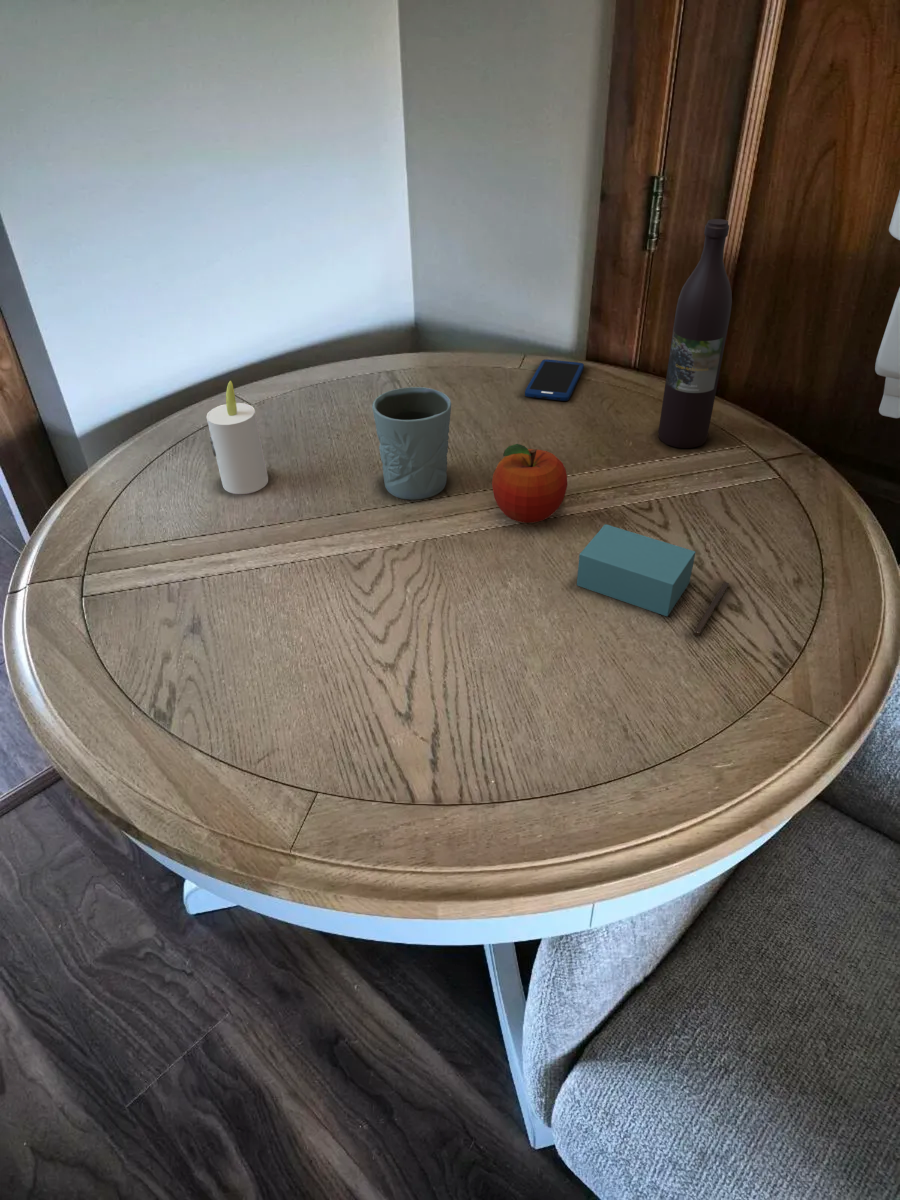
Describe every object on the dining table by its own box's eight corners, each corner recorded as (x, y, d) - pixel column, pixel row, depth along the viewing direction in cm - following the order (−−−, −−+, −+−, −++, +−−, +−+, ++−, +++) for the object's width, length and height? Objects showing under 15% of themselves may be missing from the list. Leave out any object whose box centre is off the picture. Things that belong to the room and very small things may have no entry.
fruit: (574, 528, 104) (580, 459, 98) (501, 538, 103) (502, 468, 96) (553, 489, 111) (557, 422, 105) (484, 498, 110) (484, 431, 104)
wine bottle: (648, 439, 121) (677, 223, 102) (674, 422, 125) (707, 210, 106) (690, 454, 117) (729, 233, 98) (715, 436, 121) (758, 220, 102)
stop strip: (728, 587, 94) (729, 583, 94) (698, 637, 88) (699, 633, 87) (723, 585, 94) (724, 581, 94) (692, 635, 88) (693, 631, 88)
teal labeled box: (604, 523, 97) (601, 554, 100) (578, 554, 92) (575, 585, 95) (695, 551, 92) (689, 582, 95) (673, 584, 88) (667, 616, 90)
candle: (219, 475, 117) (195, 375, 107) (265, 467, 118) (245, 368, 109) (223, 498, 112) (199, 395, 103) (271, 489, 114) (251, 387, 104)
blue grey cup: (366, 493, 112) (358, 412, 104) (400, 458, 119) (394, 380, 111) (434, 508, 109) (430, 426, 101) (464, 472, 116) (463, 392, 108)
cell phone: (523, 396, 133) (523, 392, 133) (542, 362, 143) (543, 358, 143) (568, 402, 131) (568, 397, 131) (584, 366, 141) (585, 362, 141)
